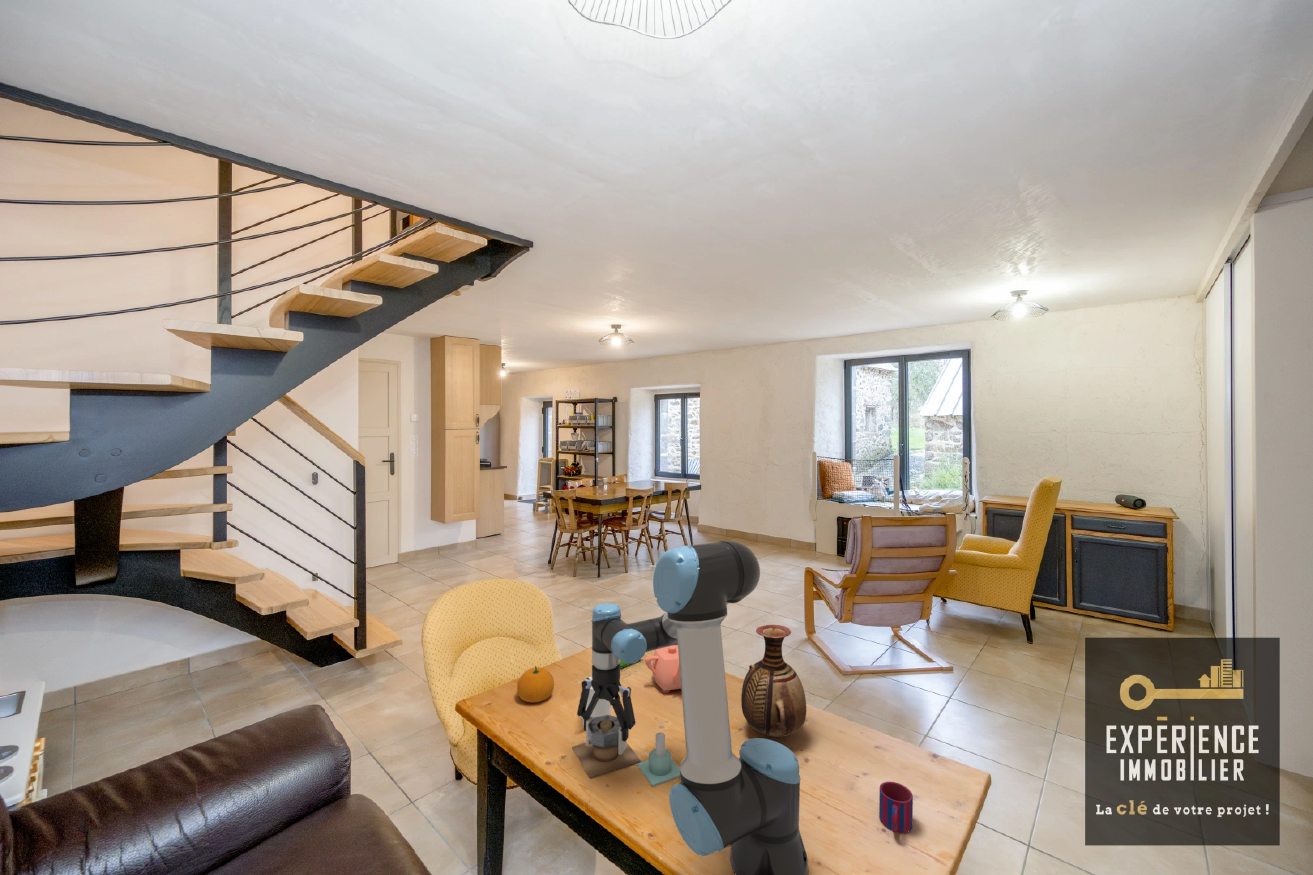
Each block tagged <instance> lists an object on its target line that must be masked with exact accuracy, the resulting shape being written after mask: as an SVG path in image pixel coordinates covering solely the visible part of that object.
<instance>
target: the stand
mask: <svg viewBox="0 0 1313 875" xmlns="http://www.w3.org/2000/svg"><path fill="white" fill-rule="evenodd" d="M648 758H649V759H646V760H644V761H641V762H640V763H637V764H636V766H637V768H638V770H640V772H641V773H642V774H643V776H644V777H645V778H646V780H647V782H648V783H649V784H650V786H652V788H653V787H656V786H658V785H661V784H664V783H667V782H669V781H672V780H675V779H677V778H680V766H679V765H677V763H676V762H675V761H674V760H673V758H672V753H671V751H670V750H669V749H667V748H666V734H665V733H664V732H657V733H655V748H653V749H651V750H650V752H649V756H648Z"/></svg>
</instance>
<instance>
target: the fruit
mask: <svg viewBox="0 0 1313 875" xmlns="http://www.w3.org/2000/svg"><path fill="white" fill-rule="evenodd" d="M554 680H555V679H554V677H553V675H552V674H551V672H550V671H549V670H547V669H546V668H544V667H539V666H538V667H537V665H536V666H534V667H532V668H528V669H526V671H524V672H523V673H522V675H521V676H520V678H519V679H518V680H517V683H516V684H517V685H516V689H517V690H516V691H517V692H516V693H517V695H518V696H519V698H520V699H521V700H522V701H524V702H527V703H535V704H536V703H540V702H543V701H545V700H547V699H548V698H549V697H550V696H551V695H552V693H553V691H554V689H555V681H554Z"/></svg>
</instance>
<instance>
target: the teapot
mask: <svg viewBox="0 0 1313 875" xmlns="http://www.w3.org/2000/svg"><path fill="white" fill-rule="evenodd" d="M644 663H645V666H646V667H647V669H649V670H650V671H651V672H652V676H653V679H654V681H655V683H656V684H657V685H658V687H660V688H661V692H662V693H664V694H668V693H670V692H671V690H673V691H674V690H679V689H680V690H681V678H680V666H679V653H678V645H672V646H668V647H664V648H660V649H656V650H654V652H653V655H650V656H647V657H645V658H644Z"/></svg>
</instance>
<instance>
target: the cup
mask: <svg viewBox="0 0 1313 875" xmlns="http://www.w3.org/2000/svg"><path fill="white" fill-rule="evenodd" d="M878 800H879V803H878V804H879V807H878V808H879V809H878V810H879V811H878V812H879V813H878V814H879V815H878V818H879V821H880V822H881V824H882V825H883V826H884V827H885V828H886V827H887V828H886V829H888V830H889V829H890V831H891V830H892V831H891V832H894V833H897V832H898V833H897V834H907V833H909V832H911V831H912V829H913V821H914V820H913V812H914V811H913V808H914V805H913V804H914V802H913V800H914V796H913V793H912V791H911V790H910V789H909V788H908V787H907V786H906V785H903V784H901V783H899V782H895V781H885V782H882V783H880V785H879V799H878ZM910 830H911V831H910ZM908 831H909V832H908ZM906 832H907V833H906Z"/></svg>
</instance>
